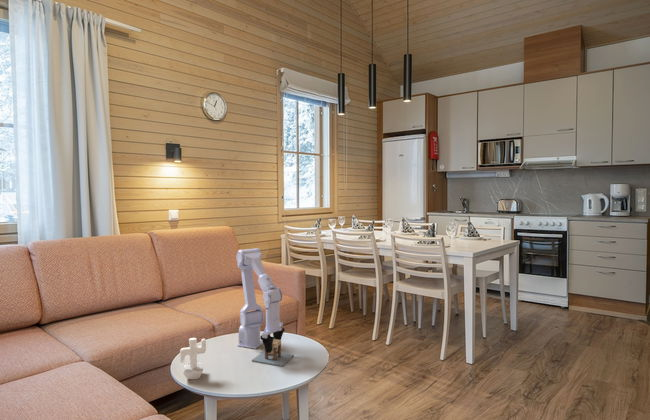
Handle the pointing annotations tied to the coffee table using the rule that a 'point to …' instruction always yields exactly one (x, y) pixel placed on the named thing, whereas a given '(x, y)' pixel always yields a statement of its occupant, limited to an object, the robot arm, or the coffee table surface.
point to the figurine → (193, 359)
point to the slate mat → (279, 362)
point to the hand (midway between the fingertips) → (272, 348)
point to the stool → (274, 350)
